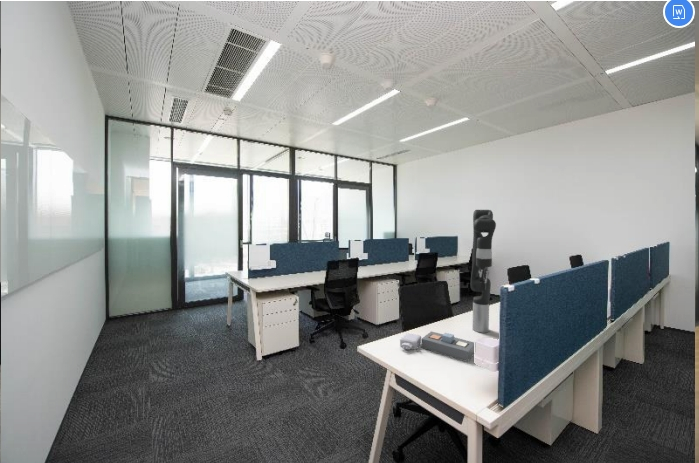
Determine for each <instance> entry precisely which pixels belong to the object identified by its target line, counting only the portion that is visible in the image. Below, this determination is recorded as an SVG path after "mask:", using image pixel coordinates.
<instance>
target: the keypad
mask: <svg viewBox="0 0 699 463" xmlns="http://www.w3.org/2000/svg"><path fill="white" fill-rule="evenodd" d="M443 334H444V333H440V332H435V331H432V330H431V331H430V332H429V333H427V334H425V335H424V336H423V337H421V343H420V345H421V347H420V348H421V349H424V350H427V351H431V352H433V353H437V354H441V355H444V356H447V357H451V358H454V359H456V360H457V359H458V360H461V361H464V362H468V361H470V359H471V358H472V357H473V356H474V355H475V353H474V341H470V340H466V339H463V338H458V337H455V336H454V342H453V343H452V344H450V343H446V342H442V335H443ZM431 335H437V336H441V339H440V340H435V339H431V338H429V337H430V336H431ZM458 341H460V342H464V343H468V346H467V347H466V348H464V347H461V346H457V345H456V343H457V342H458ZM472 355H473V356H472Z"/></svg>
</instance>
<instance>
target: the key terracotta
mask: <svg viewBox="0 0 699 463" xmlns="http://www.w3.org/2000/svg"><path fill="white" fill-rule="evenodd" d="M429 338H431V339H435V340H440V339H441V336H437V335H431V336H430V337H429Z"/></svg>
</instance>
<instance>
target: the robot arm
mask: <svg viewBox="0 0 699 463" xmlns="http://www.w3.org/2000/svg"><path fill="white" fill-rule="evenodd" d="M472 216H473V217H472V221H473V222H472V223H473V224H472V225H473V226H472V227H473V230H472V231H473V233H472V234H473V239H472V240H473V241H472V252H471V254H472V260H471V261H472V264H471V275H470V285H469V286H470V289H471V290H472V291H473V292H478V293H481V295H480V296H479V295H478V296H477V295H476V296H474V297H473V298H472V330H473V331H474V332H477V333H483V334H484V333H485V334H486V333H489V330H490V299H491V284H492V283H491V279H490V278H489V275H490V271H489V268H491V267H492V266H493V251H492V250H493V248H492V245H493V244H492V243H493V237H494V233H495V230H496V227H497V223H496V221H495V220H494V214H493V211H492V210H491V209H475V210H474V211H473V215H472ZM482 233H483V234H482ZM484 233H486V234H487V235H486V236H485V235H484ZM483 235H484V236H483Z"/></svg>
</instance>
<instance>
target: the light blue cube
mask: <svg viewBox="0 0 699 463" xmlns="http://www.w3.org/2000/svg"><path fill="white" fill-rule="evenodd" d="M442 334H443V335H442V342H446V343H450V344H452V343H453V342H454V337H455V334H452V333H449V332H444V333H442Z"/></svg>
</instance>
